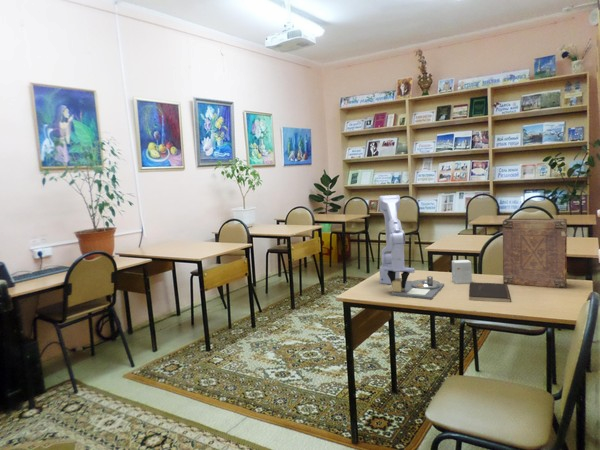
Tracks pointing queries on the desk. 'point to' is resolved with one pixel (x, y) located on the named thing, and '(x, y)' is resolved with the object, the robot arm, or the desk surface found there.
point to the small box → (461, 271)
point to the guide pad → (419, 291)
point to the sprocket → (426, 283)
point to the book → (535, 252)
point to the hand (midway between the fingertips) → (398, 287)
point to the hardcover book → (489, 292)
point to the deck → (428, 296)
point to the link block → (397, 285)
